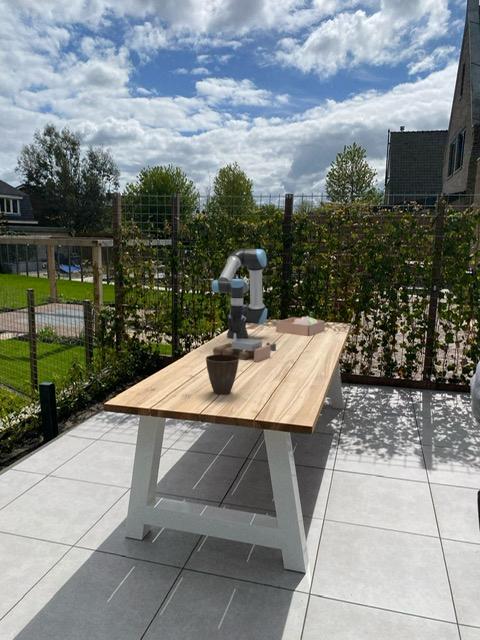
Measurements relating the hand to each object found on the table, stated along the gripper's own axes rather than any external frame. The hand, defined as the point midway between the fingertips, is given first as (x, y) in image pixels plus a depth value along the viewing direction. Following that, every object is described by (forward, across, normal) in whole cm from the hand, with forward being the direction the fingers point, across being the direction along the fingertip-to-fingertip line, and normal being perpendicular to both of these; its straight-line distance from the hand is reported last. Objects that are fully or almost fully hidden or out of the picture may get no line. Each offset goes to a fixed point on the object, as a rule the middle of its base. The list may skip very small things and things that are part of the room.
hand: (235, 343), depth 297 cm
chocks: (+7, +1, 0) cm, 7 cm away
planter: (+7, -3, +101) cm, 101 cm away
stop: (+7, +18, 0) cm, 20 cm away
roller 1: (+7, -8, 0) cm, 11 cm away
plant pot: (+7, +35, -68) cm, 77 cm away
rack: (+7, +11, +18) cm, 22 cm away
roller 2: (+7, -2, 0) cm, 7 cm away
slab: (+2, +8, 0) cm, 8 cm away
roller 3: (+7, +10, 0) cm, 12 cm away
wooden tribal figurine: (+7, -4, +104) cm, 105 cm away
